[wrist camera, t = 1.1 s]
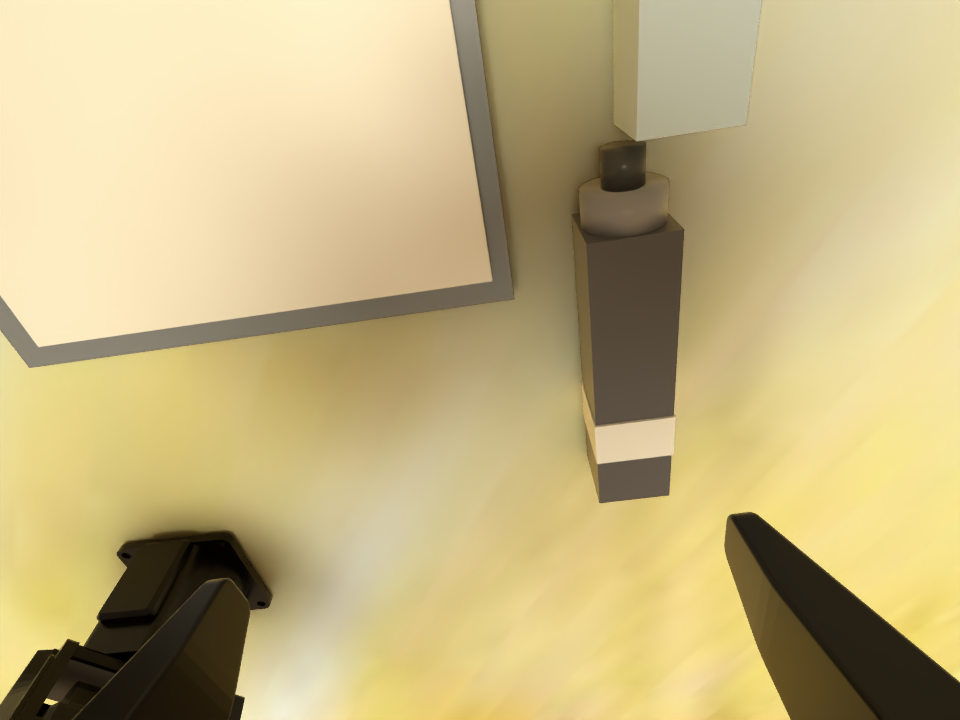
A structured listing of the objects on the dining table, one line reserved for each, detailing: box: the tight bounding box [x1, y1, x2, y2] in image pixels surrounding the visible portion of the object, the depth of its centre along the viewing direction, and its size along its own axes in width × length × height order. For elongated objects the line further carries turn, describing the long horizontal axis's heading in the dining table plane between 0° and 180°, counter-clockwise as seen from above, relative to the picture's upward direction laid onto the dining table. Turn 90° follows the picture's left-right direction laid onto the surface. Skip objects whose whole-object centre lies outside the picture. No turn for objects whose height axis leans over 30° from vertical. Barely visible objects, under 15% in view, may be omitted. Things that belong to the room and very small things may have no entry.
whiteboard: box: [0, 0, 514, 368], centre depth 16 cm, size 20×15×2 cm
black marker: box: [572, 140, 684, 503], centre depth 20 cm, size 14×3×3 cm, turn 9°
